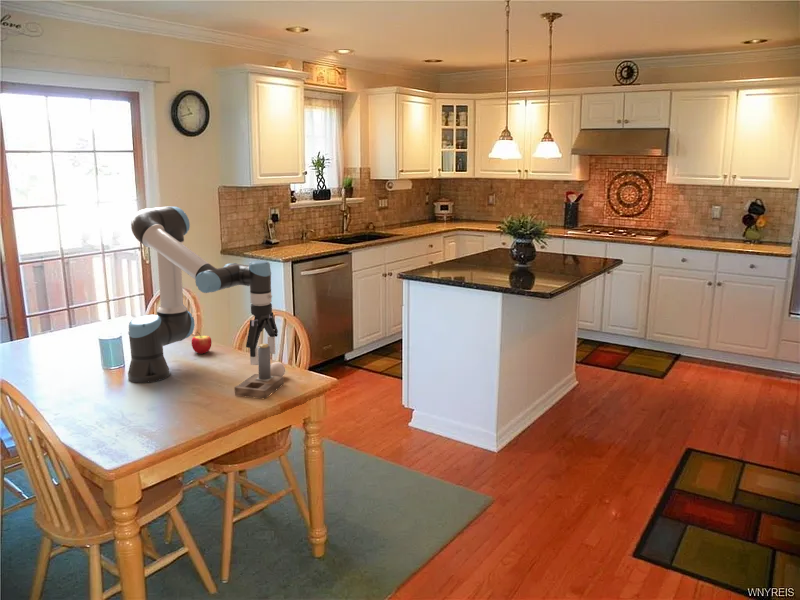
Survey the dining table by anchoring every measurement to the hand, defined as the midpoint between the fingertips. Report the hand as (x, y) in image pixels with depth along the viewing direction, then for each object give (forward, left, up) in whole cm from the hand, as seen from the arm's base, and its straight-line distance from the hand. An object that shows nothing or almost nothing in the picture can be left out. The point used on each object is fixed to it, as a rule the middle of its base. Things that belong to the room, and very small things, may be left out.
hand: (263, 358), depth 238 cm
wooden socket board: (0, -4, -11) cm, 11 cm away
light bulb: (-1, +8, -11) cm, 14 cm away
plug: (0, 0, -7) cm, 7 cm away
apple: (-45, +28, -11) cm, 54 cm away
